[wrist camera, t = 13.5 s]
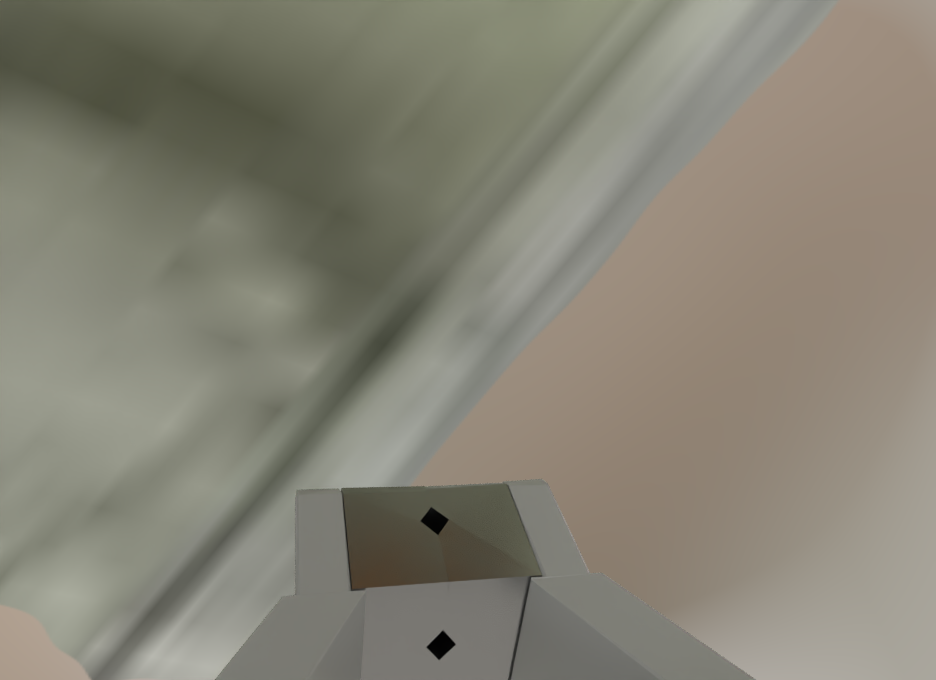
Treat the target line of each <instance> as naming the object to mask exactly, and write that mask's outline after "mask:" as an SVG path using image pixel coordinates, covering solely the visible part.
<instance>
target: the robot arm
mask: <svg viewBox="0 0 936 680" xmlns="http://www.w3.org/2000/svg"><path fill="white" fill-rule="evenodd" d="M215 680H756V679H754V678H753V677H751V676H750V675H748V674H747V673H745V672H744V671H743V670H741V669H740V668H738V667H737V666H735V665H734V664H733V663H731V662H729V661H728V660H727V659H725V658H724V657H722V656H721V655H720V654H718V653H717V652H715V651H714V650H712V649H711V648H710V647H708V646H706V645H705V644H704V643H702V642H700V641H699V640H698V639H696V638H695V637H694V636H692V635H691V634H689V633H688V632H686V631H685V630H683V629H682V628H681V627H679V626H678V625H676V624H675V623H674V622H672V621H671V620H669V619H668V618H666V617H665V616H663V615H662V614H661V613H659V612H658V611H656V610H655V609H653V608H652V607H650V606H649V605H648V604H646V603H645V602H643V601H642V600H640V599H639V598H638V597H636V596H634V595H633V594H632V593H630V592H629V591H627V590H626V589H625V588H623V587H621V586H620V585H619V584H617V583H616V582H614V581H613V580H611V579H610V578H609V577H607V576H606V575H604V574H603V573H592V574H591V573H590V572H589V570H588V568H587V566H586V564H585V562H584V559H583V557H582V555H581V553H580V551H579V549H578V547H577V545H576V542H575V540H574V538H573V536H572V534H571V532H570V530H569V527H568V525H567V523H566V521H565V519H564V517H563V515H562V513H561V511H560V508H559V506H558V504H557V502H556V500H555V498H554V496H553V494H552V492H551V489H550V487H549V485H548V483H546V482H545V481H544V480H542V479H535V480H523V481H522V480H520V481H506V482H503V483H489V484H468V485H448V486H428V487H425V486H416V487H368V488H341V491H340V490H339V489H308V490H297V492H296V498H295V595H293V596H283V597H282V598H281V599H280V600H279V601H278V603H277V604H276V605H275V606H274V608H273V609H272V610H271V611H270V612H269V614H268V615H267V616H266V617H265V619H264V620H263V621H262V622H261V624H260V625H259V626H258V627H257V628H256V630H255V631H254V632H253V633H252V635H251V636H250V637H249V638H248V640H247V641H246V642H245V643H244V644H243V646H242V647H241V648H240V649H239V651H238V652H237V653H236V654H235V656H234V657H233V658H232V659H231V660H230V662H229V663H228V664H227V665H226V667H225V668H224V669H223V670H222V672H221V673H220V674H219V675H218V676H217V678H216V679H215Z"/></svg>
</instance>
